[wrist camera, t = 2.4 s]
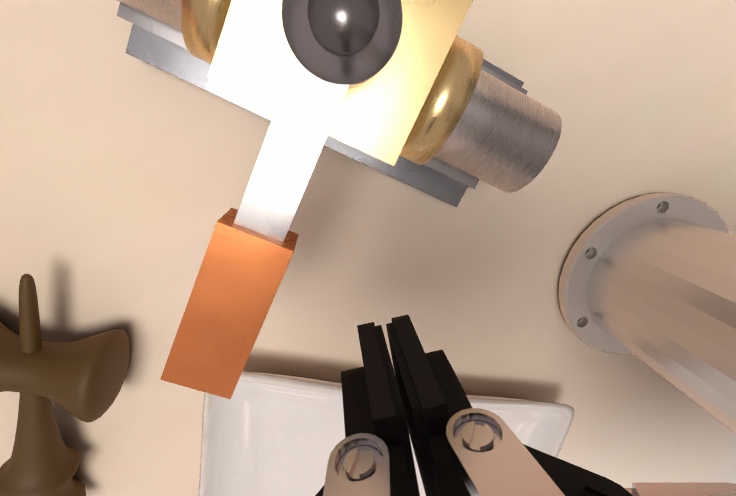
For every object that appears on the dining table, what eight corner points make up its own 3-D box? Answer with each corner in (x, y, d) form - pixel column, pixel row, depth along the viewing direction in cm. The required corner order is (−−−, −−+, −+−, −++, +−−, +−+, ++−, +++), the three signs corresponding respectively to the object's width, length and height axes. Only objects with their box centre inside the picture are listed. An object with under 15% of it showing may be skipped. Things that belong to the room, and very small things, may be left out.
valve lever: (312, -56, 11) (308, -95, 9) (411, 3, 11) (429, -21, 9) (169, 344, 14) (144, 381, 12) (251, 370, 15) (239, 409, 13)
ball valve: (512, 84, 23) (664, 58, 13) (449, 202, 25) (535, 263, 15) (182, -105, 19) (-10, -391, 8) (139, 57, 21) (-57, -4, 10)
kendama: (-1, 473, 30) (-28, 239, 23) (131, 481, 32) (141, 267, 25) (-75, 558, 24) (-138, 283, 18) (91, 562, 26) (90, 314, 19)
